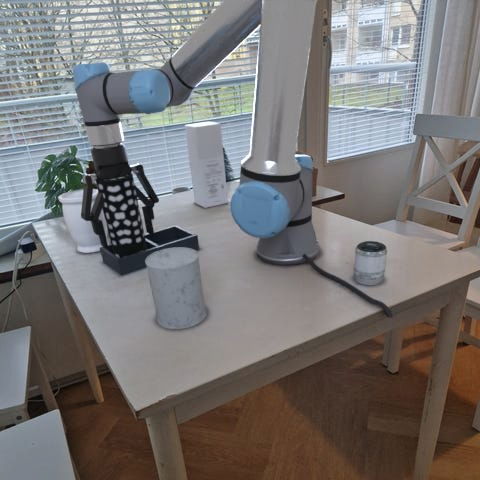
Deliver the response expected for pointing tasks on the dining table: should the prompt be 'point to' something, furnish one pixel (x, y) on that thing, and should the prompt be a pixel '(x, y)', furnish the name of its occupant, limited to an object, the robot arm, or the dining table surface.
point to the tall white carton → (206, 163)
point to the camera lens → (370, 262)
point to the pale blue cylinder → (176, 287)
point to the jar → (81, 221)
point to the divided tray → (150, 249)
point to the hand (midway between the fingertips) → (128, 239)
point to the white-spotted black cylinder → (122, 215)
